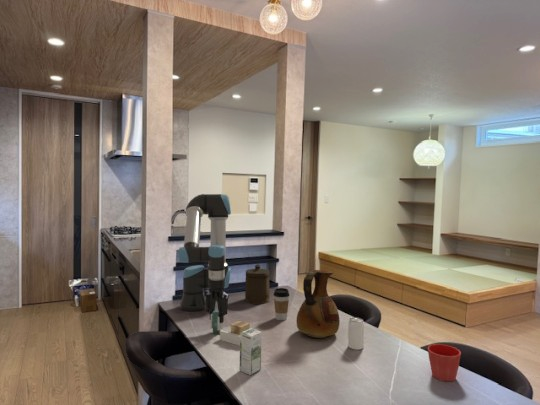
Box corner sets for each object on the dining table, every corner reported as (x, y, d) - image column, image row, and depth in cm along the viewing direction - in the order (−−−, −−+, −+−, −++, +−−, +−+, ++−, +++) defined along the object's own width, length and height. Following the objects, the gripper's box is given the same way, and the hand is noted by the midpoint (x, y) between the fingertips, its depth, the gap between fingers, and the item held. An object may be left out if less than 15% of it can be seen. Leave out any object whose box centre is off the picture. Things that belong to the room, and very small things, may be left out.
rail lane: (219, 339, 162) (219, 330, 162) (234, 332, 170) (234, 323, 170) (244, 347, 154) (244, 337, 154) (258, 339, 163) (258, 330, 163)
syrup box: (249, 365, 138) (249, 327, 138) (261, 370, 134) (261, 331, 134) (239, 370, 134) (239, 331, 133) (251, 376, 130) (251, 336, 129)
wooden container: (265, 296, 231) (265, 261, 231) (272, 302, 217) (272, 266, 216) (242, 298, 227) (242, 262, 226) (248, 305, 212) (248, 267, 212)
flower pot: (421, 369, 136) (422, 344, 135) (449, 368, 137) (450, 343, 136) (436, 384, 125) (437, 356, 125) (467, 383, 126) (467, 355, 126)
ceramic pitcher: (347, 333, 170) (348, 270, 169) (322, 346, 155) (323, 277, 155) (313, 323, 184) (314, 264, 183) (287, 334, 169) (288, 270, 168)
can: (364, 345, 157) (364, 317, 157) (363, 351, 151) (363, 322, 151) (349, 343, 159) (349, 316, 159) (347, 349, 153) (347, 320, 153)
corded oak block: (209, 334, 168) (209, 312, 168) (218, 329, 173) (218, 309, 173) (241, 343, 158) (241, 320, 158) (249, 338, 163) (249, 316, 163)
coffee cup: (289, 316, 194) (289, 288, 193) (288, 321, 185) (289, 292, 185) (274, 315, 195) (274, 287, 194) (272, 320, 186) (272, 291, 186)
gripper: (197, 277, 171) (197, 327, 171) (225, 282, 161) (225, 334, 162) (208, 274, 177) (208, 322, 177) (235, 279, 168) (235, 329, 168)
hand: (216, 328), depth 170 cm, fingers closed on corded oak block, 4 cm apart
